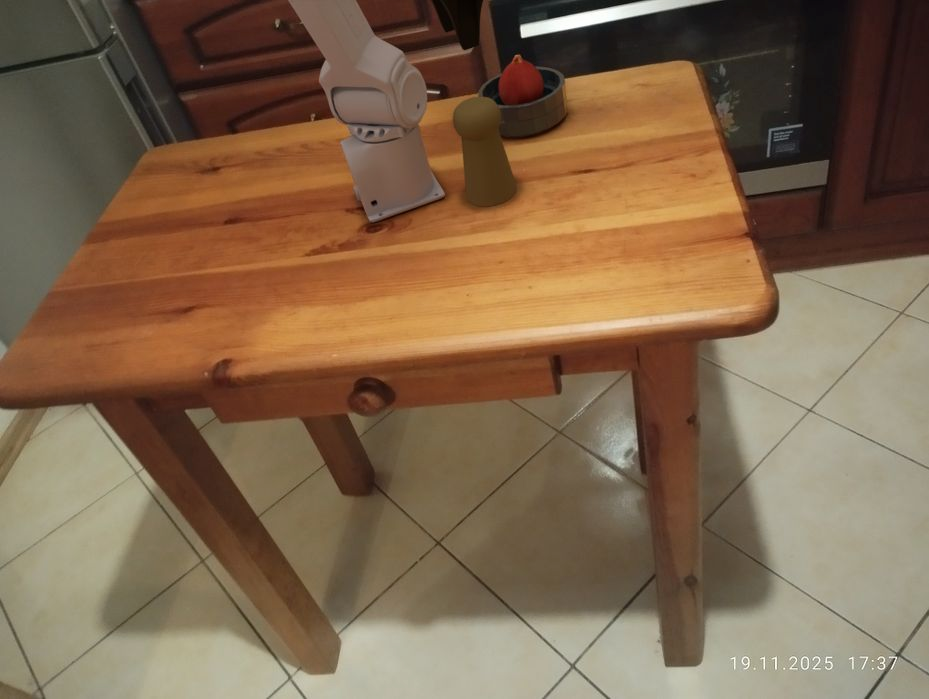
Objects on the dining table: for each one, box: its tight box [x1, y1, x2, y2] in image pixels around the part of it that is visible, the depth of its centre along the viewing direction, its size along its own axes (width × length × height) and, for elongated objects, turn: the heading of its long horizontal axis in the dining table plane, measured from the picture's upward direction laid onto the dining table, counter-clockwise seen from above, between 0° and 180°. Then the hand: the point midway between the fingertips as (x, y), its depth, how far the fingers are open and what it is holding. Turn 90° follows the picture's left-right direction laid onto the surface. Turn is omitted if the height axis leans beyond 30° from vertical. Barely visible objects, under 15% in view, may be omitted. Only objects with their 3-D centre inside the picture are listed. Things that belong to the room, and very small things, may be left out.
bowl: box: [477, 66, 569, 138], centre depth 88 cm, size 11×11×4 cm
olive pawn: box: [452, 96, 518, 208], centre depth 75 cm, size 6×6×11 cm
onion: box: [499, 54, 544, 106], centre depth 87 cm, size 6×6×8 cm
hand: (461, 38), depth 87 cm, fingers open, 7 cm apart
